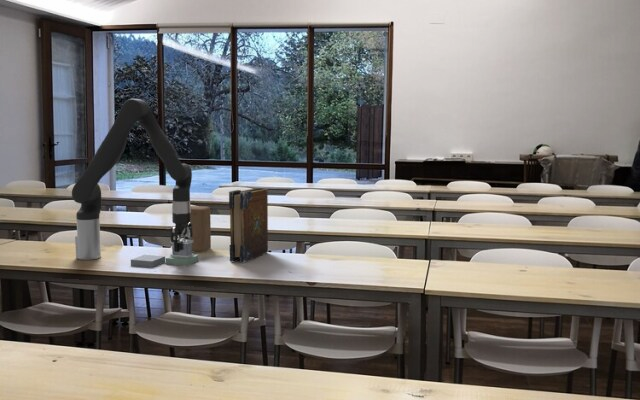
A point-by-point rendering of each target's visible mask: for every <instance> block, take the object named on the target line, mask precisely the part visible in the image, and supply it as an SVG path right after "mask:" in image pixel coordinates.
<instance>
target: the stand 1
mask: <svg viewBox="0 0 640 400" xmlns="http://www.w3.org/2000/svg"><path fill="white" fill-rule="evenodd" d="M164 263H166V256H165V255H164V256H163V255H151V254H143V255H142V254H141V255H139V256H137V257H134V258H131V259H130V266H131V267H133V266H134V267H142V268H143V267H144V268H154V267H156V266H159V265H161V264H164Z"/></svg>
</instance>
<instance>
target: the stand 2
mask: <svg viewBox="0 0 640 400" xmlns="http://www.w3.org/2000/svg"><path fill="white" fill-rule="evenodd" d="M199 256H200V255H199V254H194V256H192V257H190V258H177V257H171V255H170V256H167V257H165V265H174V266H185V267H187V266H190V265H193V264H195V263H197V262H199V261H200V258H199Z"/></svg>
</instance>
